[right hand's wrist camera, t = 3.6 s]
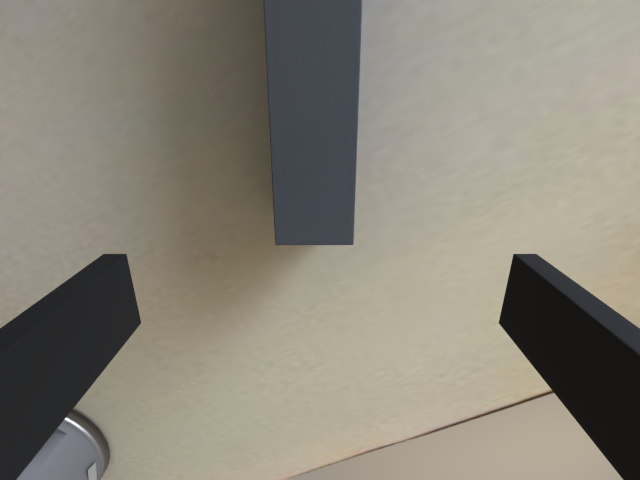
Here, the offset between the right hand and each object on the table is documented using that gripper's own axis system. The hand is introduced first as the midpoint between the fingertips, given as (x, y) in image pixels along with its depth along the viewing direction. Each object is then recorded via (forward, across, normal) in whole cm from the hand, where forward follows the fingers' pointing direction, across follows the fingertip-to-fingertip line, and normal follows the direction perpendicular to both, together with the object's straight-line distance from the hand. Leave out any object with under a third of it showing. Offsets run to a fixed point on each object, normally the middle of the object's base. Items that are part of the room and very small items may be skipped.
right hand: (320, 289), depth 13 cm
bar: (+21, 0, -9) cm, 23 cm away
